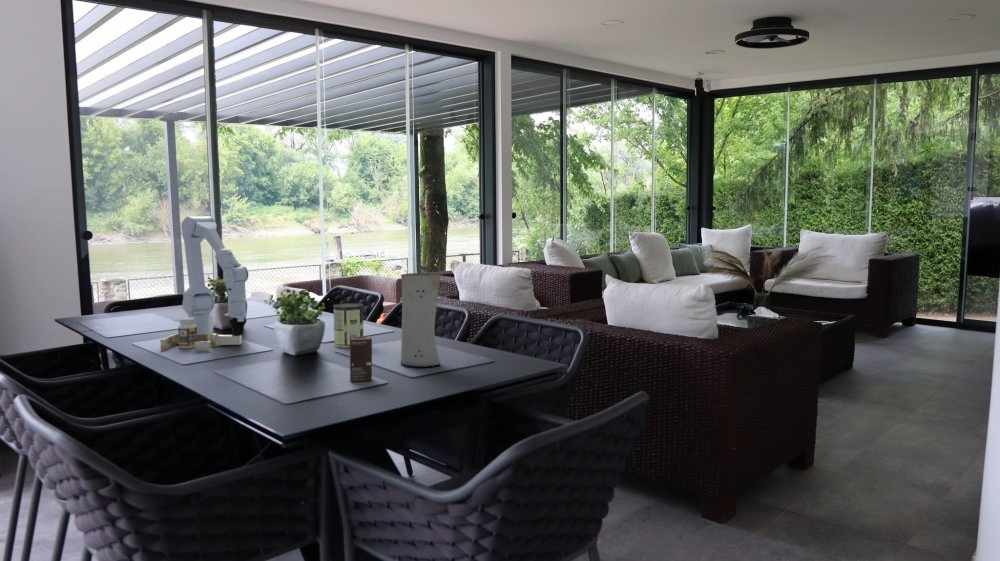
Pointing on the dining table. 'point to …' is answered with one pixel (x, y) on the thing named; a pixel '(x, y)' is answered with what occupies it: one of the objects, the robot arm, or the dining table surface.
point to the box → (360, 359)
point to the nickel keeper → (202, 346)
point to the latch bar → (225, 339)
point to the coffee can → (347, 323)
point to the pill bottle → (187, 333)
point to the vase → (419, 319)
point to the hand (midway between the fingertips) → (237, 339)
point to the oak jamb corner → (174, 340)
